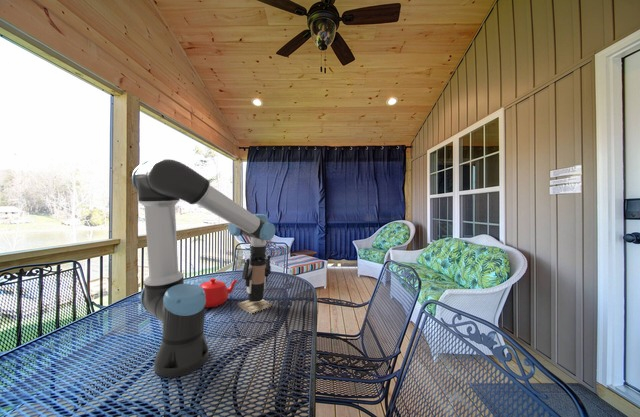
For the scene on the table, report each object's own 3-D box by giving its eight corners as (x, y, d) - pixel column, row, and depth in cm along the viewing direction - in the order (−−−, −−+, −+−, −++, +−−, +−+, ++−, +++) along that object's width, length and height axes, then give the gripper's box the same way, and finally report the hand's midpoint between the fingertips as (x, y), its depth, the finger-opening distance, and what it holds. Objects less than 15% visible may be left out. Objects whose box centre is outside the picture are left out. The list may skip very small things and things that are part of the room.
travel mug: (255, 303, 112) (257, 262, 112) (244, 299, 116) (246, 259, 116) (266, 298, 119) (268, 259, 118) (256, 294, 123) (258, 256, 122)
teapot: (190, 315, 105) (191, 288, 104) (181, 303, 116) (182, 278, 116) (243, 302, 121) (245, 278, 121) (231, 292, 133) (232, 270, 133)
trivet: (251, 314, 109) (251, 311, 109) (237, 305, 117) (238, 302, 117) (272, 306, 118) (272, 303, 118) (258, 299, 126) (258, 296, 126)
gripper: (243, 248, 106) (241, 298, 107) (279, 244, 122) (277, 287, 123) (235, 246, 111) (233, 293, 112) (270, 242, 127) (268, 283, 128)
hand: (256, 290), depth 117 cm, fingers closed on travel mug, 8 cm apart
